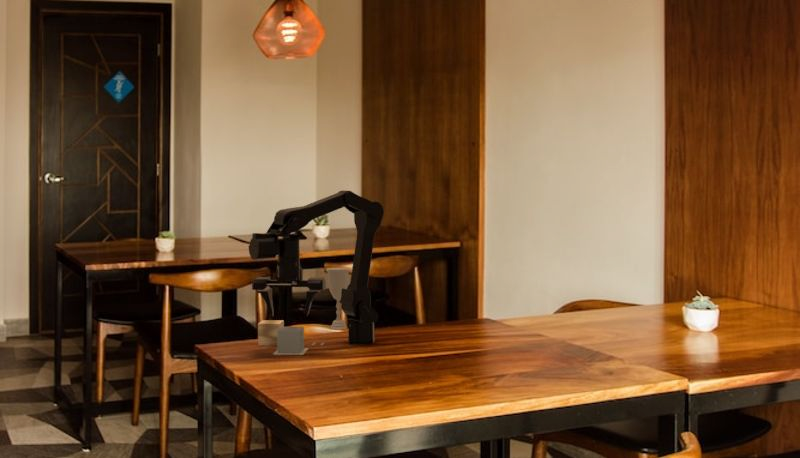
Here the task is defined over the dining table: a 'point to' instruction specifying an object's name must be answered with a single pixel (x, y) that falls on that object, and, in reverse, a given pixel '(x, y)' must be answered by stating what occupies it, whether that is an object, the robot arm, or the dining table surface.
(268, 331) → the birch block
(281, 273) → the robot arm
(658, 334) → the dining table surface
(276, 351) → the mat
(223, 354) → the dining table surface
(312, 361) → the dining table surface
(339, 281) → the chalice
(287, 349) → the slate block
